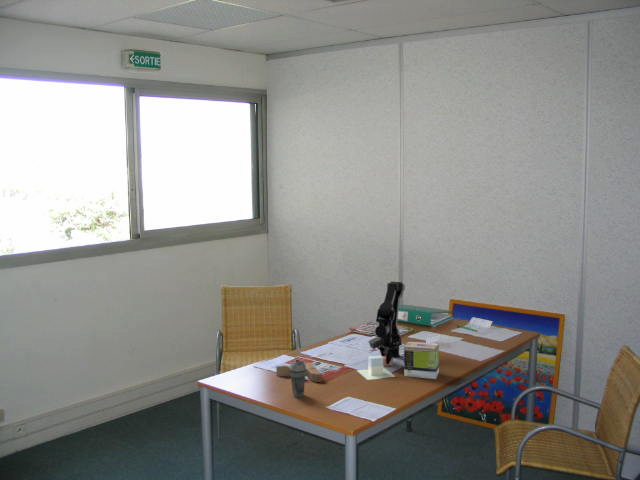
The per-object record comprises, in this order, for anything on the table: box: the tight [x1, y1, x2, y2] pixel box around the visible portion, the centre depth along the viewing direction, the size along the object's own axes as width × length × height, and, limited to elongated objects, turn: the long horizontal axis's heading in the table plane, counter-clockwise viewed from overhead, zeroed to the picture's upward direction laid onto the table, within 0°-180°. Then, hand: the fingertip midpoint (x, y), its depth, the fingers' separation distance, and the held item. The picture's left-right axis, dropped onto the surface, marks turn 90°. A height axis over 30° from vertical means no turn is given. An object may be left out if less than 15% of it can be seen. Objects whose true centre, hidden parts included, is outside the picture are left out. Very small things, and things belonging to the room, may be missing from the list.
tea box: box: [403, 341, 440, 380], centre depth 295 cm, size 15×10×15 cm
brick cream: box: [367, 364, 384, 375], centre depth 297 cm, size 6×4×4 cm, turn 108°
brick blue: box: [367, 354, 384, 367], centre depth 296 cm, size 6×4×4 cm, turn 107°
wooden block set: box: [275, 362, 323, 383], centre depth 293 cm, size 17×6×18 cm
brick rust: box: [382, 356, 394, 367], centre depth 310 cm, size 6×4×4 cm, turn 110°
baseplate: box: [356, 366, 396, 381], centre depth 297 cm, size 14×14×1 cm
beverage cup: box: [289, 350, 306, 398], centre depth 270 cm, size 7×7×20 cm
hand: (385, 362), depth 310 cm, fingers closed on brick rust, 4 cm apart
